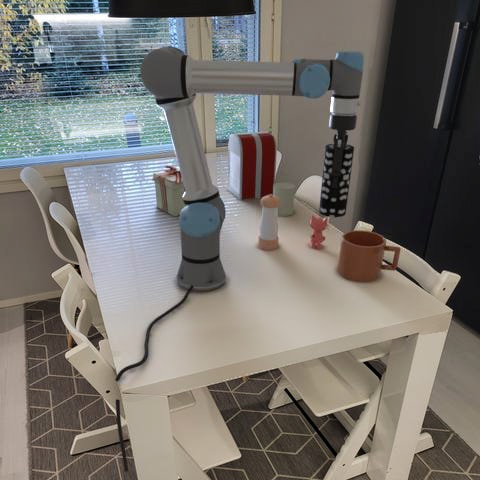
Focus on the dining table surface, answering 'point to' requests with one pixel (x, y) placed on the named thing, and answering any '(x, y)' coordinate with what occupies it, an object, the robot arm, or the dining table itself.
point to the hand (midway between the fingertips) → (334, 193)
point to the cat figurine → (317, 231)
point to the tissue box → (251, 164)
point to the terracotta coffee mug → (364, 256)
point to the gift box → (169, 190)
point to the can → (284, 197)
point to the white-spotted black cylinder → (339, 205)
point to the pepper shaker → (269, 223)
